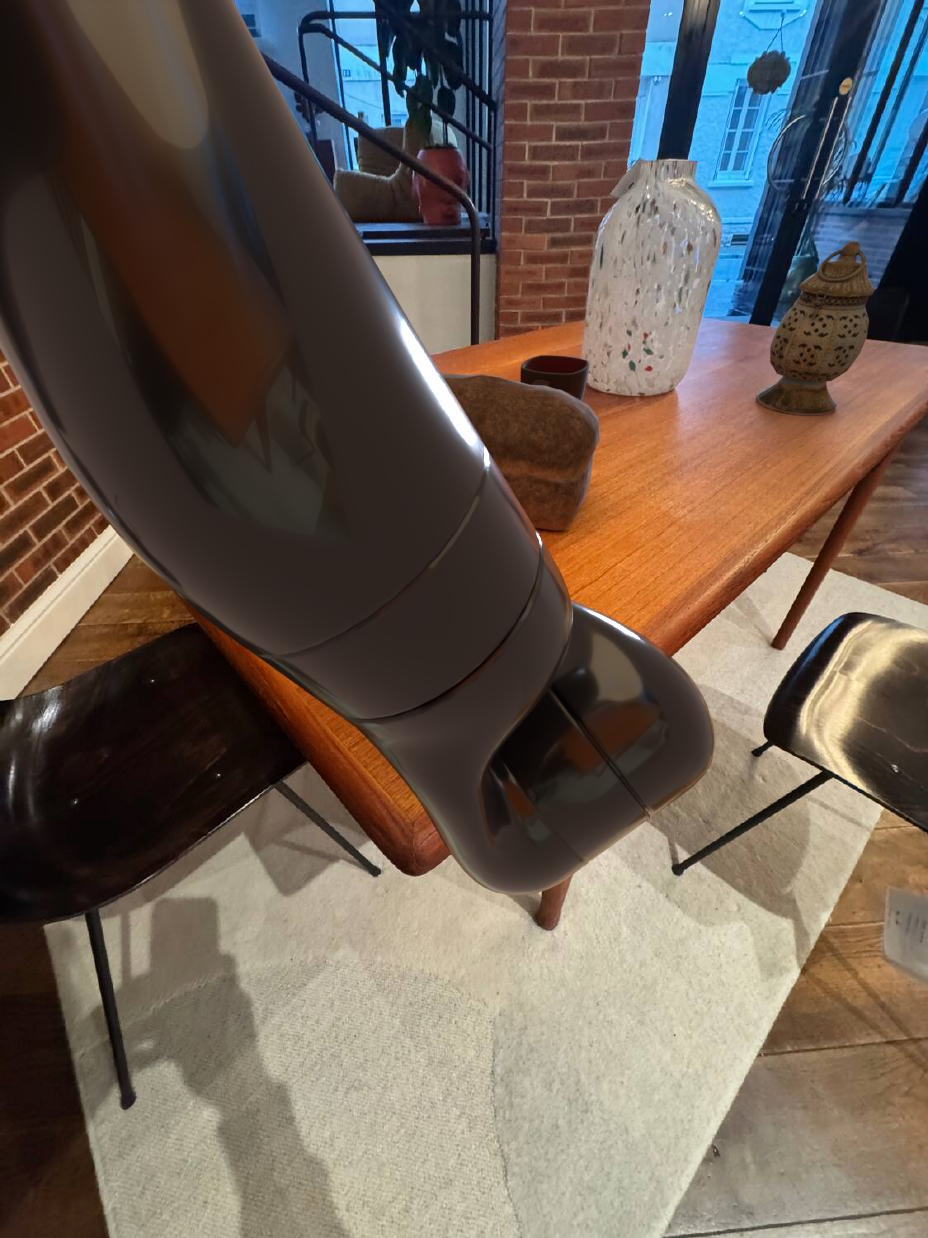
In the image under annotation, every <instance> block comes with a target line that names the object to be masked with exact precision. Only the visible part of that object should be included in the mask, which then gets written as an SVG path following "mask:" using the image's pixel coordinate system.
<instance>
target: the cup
mask: <svg viewBox="0 0 928 1238" xmlns="http://www.w3.org/2000/svg"><path fill="white" fill-rule="evenodd" d="M589 372H590V362H589V360H587V359H583V358H580V357H575V356H574V357H572V356H567V355H553V354H545V355H544V354H540V355H535V356H533V357H530V358H528V359H526V360H525V361H523V362H522V363H521V365H520V373H519V374H520V376H519V377H520V380H519V382H521V383H525V384H529V385H540V386H548V387H551V388H554V389H558V390H562V391H564V392H566V393H568V394H570V395H572V396H573V397H575V398H577V399H579V400H580V401H582V402H583V399H584V395H585V391H586V386H587V382H588V377H589Z"/></svg>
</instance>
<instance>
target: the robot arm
mask: <svg viewBox="0 0 928 1238" xmlns="http://www.w3.org/2000/svg"><path fill="white" fill-rule="evenodd" d="M0 351H1V352H2V355H3V356H4V358H5V360H6V362H7V363H8V366H9V368H10V369H11V371H12V373H13V375H14V377H15V378H16V381H17V382H18V384H19V386H20V388H21V390H22V392H23V393H24V395H25V397H26V399H27V401H28V403H29V405H30V407H31V409H32V410H33V413H34V414H35V416H36V418H37V420H38V421H39V423H40V425H41V427H42V428H43V430H44V432H45V433H46V435H47V436H48V438H49V440H50V441H51V443H52V444H53V446H54V448H55V449H56V451H57V453H58V454H59V456H60V458H61V459H62V461H63V462H64V464H65V465H66V467H67V468H68V470H69V472H70V473H71V474H72V476H73V477H74V478H75V480H76V482H77V483H78V484H79V485H80V487H81V489H82V490H83V491H84V493H85V494H86V495H87V497H88V498H89V500H90V501H91V503H92V504H93V505H94V506H95V508H96V509H97V511H98V512H99V514H100V515H101V516H102V517H103V519H104V520H105V521H106V522H107V523H108V525H110V527H111V528H112V529H113V530H114V531H115V533H116V534H117V535H118V536H119V537H120V539H121V540H122V541H123V542H124V544H126V546H127V547H128V548H129V550H130V551H131V552H132V553H133V554H134V555H135V556H136V557H137V558H138V559H139V560H140V561H141V562H142V563H143V564H144V565H145V566H146V567H147V568H148V569H149V570H150V571H151V572H152V573H153V574H154V575H155V576H156V577H157V578H158V579H159V580H160V582H162V583H163V584H164V586H166V587H167V588H168V589H169V590H170V591H172V592H173V593H174V594H175V595H176V596H177V597H179V598H180V599H181V600H182V601H183V602H185V603H186V604H187V605H188V606H189V607H191V609H193V610H194V611H195V612H197V613H198V614H199V615H200V616H201V617H202V618H203V619H205V620H207V621H208V622H209V623H211V625H213V626H215V627H216V628H217V629H219V630H220V631H221V632H223V633H224V634H225V635H227V636H228V637H230V638H231V639H232V640H233V641H235V642H236V643H238V644H239V645H240V646H241V647H243V648H244V649H245V650H248V651H249V652H250V653H252V654H254V655H255V656H256V657H258V658H259V659H260V660H262V661H263V662H264V663H266V664H267V665H268V666H270V667H271V668H273V669H274V670H275V671H277V672H279V673H280V674H281V675H282V676H284V677H285V678H287V680H289V681H290V682H292V683H293V684H295V685H296V686H298V687H299V688H300V689H302V690H303V691H304V692H305V693H307V694H309V695H310V696H311V697H312V698H314V699H316V700H317V701H318V702H319V703H320V704H323V705H324V706H325V707H327V708H328V709H330V710H332V711H333V713H334V714H336V715H338V716H339V717H341V718H342V719H343V720H345V721H346V722H348V723H349V724H350V725H351V726H353V727H354V728H355V729H356V730H358V732H360V733H361V735H363V736H364V737H365V738H366V739H367V741H369V742H370V744H371V745H373V747H374V748H375V749H376V750H377V751H378V752H379V753H380V755H382V757H383V758H384V759H385V760H386V761H387V762H388V764H389V765H390V766H391V767H392V769H393V770H394V771H395V772H396V774H397V775H399V777H400V778H401V779H402V781H403V782H404V784H406V786H407V787H408V789H409V790H410V791H411V792H412V794H413V795H414V796H415V798H416V799H417V801H418V803H419V804H420V806H421V807H422V809H423V810H424V812H425V813H426V815H427V816H428V819H429V820H430V822H431V825H432V826H433V827H434V829H435V831H436V832H437V834H438V836H439V837H440V839H441V841H442V842H443V844H444V846H445V847H446V849H447V851H448V852H449V854H450V855H451V856H452V858H453V859H454V860H455V861H456V863H457V864H458V865H459V866H460V868H461V869H462V871H463V872H464V873H465V874H467V876H469V878H471V880H473V881H474V882H475V883H476V884H478V885H479V886H481V887H482V888H484V889H487V890H488V891H491V892H494V893H496V894H501V895H507V896H527V895H533V894H539V893H542V892H544V891H547V890H550V889H552V888H554V887H556V886H557V885H560V884H561V883H563V882H564V881H566V880H567V879H569V878H570V877H572V876H573V875H574V874H576V873H577V872H578V871H580V870H581V869H582V868H584V867H585V866H586V865H588V864H589V862H590V861H593V860H594V859H596V858H597V857H598V856H600V855H602V853H604V852H605V851H607V850H608V849H610V848H611V847H612V846H614V845H615V844H616V843H618V842H619V841H620V840H622V839H623V838H625V837H626V836H628V835H629V834H630V833H631V832H633V831H634V830H637V828H639V827H640V826H641V825H643V824H644V823H645V822H648V820H649V819H651V815H650V813H651V814H652V815H657V814H658V813H659V812H661V811H662V810H664V809H665V808H666V807H668V806H670V805H671V804H672V803H674V802H675V801H677V800H678V799H679V798H680V797H681V796H683V795H684V794H685V793H687V792H688V791H690V790H691V789H692V788H694V786H695V785H697V783H698V782H699V781H700V780H701V779H702V778H703V777H704V776H705V775H706V773H707V772H708V770H709V769H710V767H711V764H712V762H713V757H714V753H715V747H716V743H715V742H716V741H715V740H716V739H715V728H714V723H713V719H712V715H711V713H710V710H709V707H708V704H707V701H706V699H705V697H704V695H703V693H702V692H701V690H700V688H699V687H698V685H697V684H696V682H695V681H694V680H693V678H692V677H691V675H690V674H689V672H687V671H686V670H685V669H684V667H683V666H682V665H681V664H680V663H679V662H678V661H677V660H676V659H675V658H674V657H672V656H671V654H669V653H668V652H667V651H666V650H664V649H663V648H661V646H659V645H657V644H656V643H655V642H654V641H652V640H651V639H649V638H648V637H646V636H645V635H644V634H642V633H640V632H638V631H636V630H635V629H633V628H631V627H630V626H628V625H626V624H624V623H622V622H621V621H619V620H617V619H615V618H613V617H611V616H609V615H607V614H605V613H603V612H600V611H598V610H596V609H595V608H592V607H589V606H588V605H585V604H583V603H580V602H578V601H576V600H574V599H571V596H570V592H569V588H568V585H567V583H566V581H565V579H564V577H563V574H562V572H561V570H560V568H559V566H558V564H557V562H556V560H555V559H554V557H553V555H552V554H551V552H550V550H549V548H548V546H547V544H546V543H545V542H544V540H543V539H542V536H541V535H540V534H539V532H538V530H537V528H535V527H534V526H533V524H532V523H531V521H530V519H529V518H528V516H527V514H526V513H525V511H524V509H523V508H522V506H521V504H520V503H519V501H518V499H517V498H516V496H515V495H514V493H513V491H512V490H511V488H510V486H509V485H508V483H507V481H506V480H505V478H504V476H503V475H502V473H501V471H500V470H499V468H498V466H497V465H496V463H495V461H494V460H493V458H492V457H491V455H490V453H489V452H488V450H487V448H486V447H485V445H484V443H483V442H482V440H481V438H480V436H479V435H478V433H477V431H476V430H475V428H474V427H473V425H472V423H471V422H470V420H469V418H468V417H467V415H466V413H465V412H464V410H463V409H462V407H461V405H460V404H459V402H458V400H457V399H456V397H455V396H454V394H453V392H452V391H451V389H450V387H449V386H448V384H447V383H446V381H445V379H444V378H443V376H442V374H441V373H442V372H441V371H440V370H439V368H438V366H437V364H436V363H435V361H434V359H433V358H432V356H431V354H430V353H429V351H428V349H427V348H426V346H425V345H424V342H423V341H422V339H421V338H420V336H419V334H418V333H417V331H416V330H415V328H414V326H413V324H412V323H411V321H410V319H409V318H408V316H407V314H406V312H405V311H404V309H403V308H402V306H401V304H400V303H399V300H398V299H397V297H396V296H395V294H394V292H393V290H392V289H391V287H390V285H389V283H388V282H387V280H386V278H385V276H384V275H383V273H382V271H381V270H380V268H379V265H378V264H377V263H376V261H375V259H374V257H373V256H372V254H371V252H370V250H369V248H368V247H367V244H366V242H365V241H364V239H363V238H362V236H361V234H360V232H359V231H358V229H357V227H356V225H355V223H354V222H353V220H352V218H351V216H350V215H349V213H348V211H347V209H346V208H345V205H344V204H343V202H342V200H341V198H340V197H339V195H338V193H337V192H336V189H335V188H334V186H333V184H332V183H331V181H330V179H329V177H328V176H327V174H326V172H325V170H324V168H323V166H322V164H321V162H320V160H319V159H318V157H317V155H316V153H315V152H314V150H313V148H312V146H311V144H310V143H309V140H308V139H307V137H306V135H305V133H304V132H303V130H302V128H301V125H300V124H299V122H298V120H297V118H296V117H295V114H294V113H293V111H292V109H291V107H290V105H289V103H288V101H287V100H286V98H285V96H284V95H283V93H282V91H281V89H280V87H279V85H278V83H277V82H276V80H275V78H274V76H273V74H272V72H271V70H270V68H269V66H268V65H267V63H266V61H265V59H264V56H263V55H262V53H261V51H260V49H259V47H258V45H257V44H256V41H255V39H254V37H253V36H252V34H251V31H250V30H249V28H248V25H247V24H246V22H245V20H244V18H243V15H242V14H241V13H240V11H239V8H238V7H237V4H236V3H235V1H234V0H0ZM649 812H650V813H649Z"/></svg>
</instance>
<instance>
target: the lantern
mask: <svg viewBox="0 0 928 1238" xmlns="http://www.w3.org/2000/svg"><path fill="white" fill-rule="evenodd" d="M838 255H839V256H838ZM836 256H838V257H837V259H833V258H834V257H836ZM858 256H859V258H860V261H858V260H857V259H858V258H857V257H858ZM831 259H832V260H831ZM797 287H798V289H799V291H801V292H800V293H799V295H798V297H797V299H796V300H795V302H794V303H793V304H792V305H791V307H790V308H789V309H788V311H787V312H786V313H785V314H784V316H783V318H782V319H781V320H780V322H779V324H778V325H777V327H776V329H775V331H774V334H773V336H772V340H771V343H770V347H769V363H770V365H771V366H772V368H773V370H774V371H775V373H776V374H777V375H779V376H781V378H780V379H779V380H777V381H776V382H775V383H773V384H772V385H770V386H768V387H767V388H765V389H762V391H760V392H759V393H758V394H756V397H755V399H756V402H757V404H759V405H760V406H762V407H764V408H766V409H769V410H771V411H775V412H779V413H784V414H788V415H795V416H805V417H806V416H823V415H830V413H834V411H835V410H836V408H837V403H836V401H835V400H834V399H833V398H832V396H831V395H830V392H829V390H828V384H827V382H832V381H834V380H836V379H837V378H839V377H840V376H842V375H843V374H845V373H846V372H848V371H849V369H850V368H851V367H852V366H853V364H854V363H855V361H856V360H857V359H858V358H859V356H860V354H861V352H862V349H863V347H864V345H865V342H866V341H867V338H868V330H869V324H870V319H869V315H868V312H867V308H866V305H867V302H868V300H869V297H870V296H873V295H874V292H875V287H874V285H873V283H872V282H871V280H870V277H869V273H868V263H867V256H866V254H865V253H864V252H863V251H862V250H861V244H860V243H859V241H856V240H850V241H849V242H847V243H845V244H844V245H843V247H842V248H841V249H838V250H836V251H834V252H832V253H831V254H829V255H828V256H827V257H826V258H825V259H824V260H823V261H822V262H821V263H820V264H819V266H818V269H817V271H816V272H815V273H813V274H812V275H810V276H809V277H808V278H806V279H804V280H803V281H801V283H799V285H798V286H797Z"/></svg>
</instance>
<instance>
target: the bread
mask: <svg viewBox="0 0 928 1238" xmlns="http://www.w3.org/2000/svg"><path fill="white" fill-rule="evenodd" d="M440 373H441V374H442V376H443V378H444V379H445V381H446V383H447V384H448V386H449V387H450V389H451V391H452V392H453V394H454V396H455V397H456V399H457V400H458V402H459V404H460V405H461V407H462V409H463V410H464V412H465V413H466V415H467V417H468V418H469V420H470V422H471V423H472V425H473V427H474V428H475V430H476V431H477V433H478V435H479V436H480V438H481V440H482V442H483V443H484V445H485V447H486V448H487V450H488V452H489V453H490V455H491V457H492V458H493V460H494V461H495V463H496V465H497V466H498V468H499V470H500V471H501V473H502V475H503V476H504V478H505V480H506V481H507V483H508V485H509V486H510V488H511V490H512V491H513V493H514V495H515V496H516V498H517V499H518V501H519V503H520V504H521V506H522V508H523V509H524V511H525V513H526V514H527V516H528V518H529V519H530V521H531V523H532V524H533V526H534V528H535V529H543V530H548V531H565V530H566V529H567V528H569V525H570V524H571V523H572V521H573V520H574V519H575V517H576V516H577V514H578V512H579V510H580V509H581V507H582V505H583V503H584V501H585V499H586V496H587V494H588V490H589V487H590V483H591V480H592V475H593V461H594V455H595V451H596V449H597V447H598V444H599V442H600V440H601V439H600V438H601V434H600V419H599V417H598V416H597V415H596V413H595V411H594V410H593V409H592V407H591V406H590V405H589V404H588V403H585V402H584V401H583V400H582V401H580V400H579V399H577V398H575V397H573V396H572V395H570V394H568V393H566V392H564V391H562V390H558V389H554V388H551V387H548V386H540V385H529V384H525V383H521V382H520V381H518V380H513V379H509V378H508V379H507V378H505V377H502V376H496V375H490V374H462V373H449V372H440Z"/></svg>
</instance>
